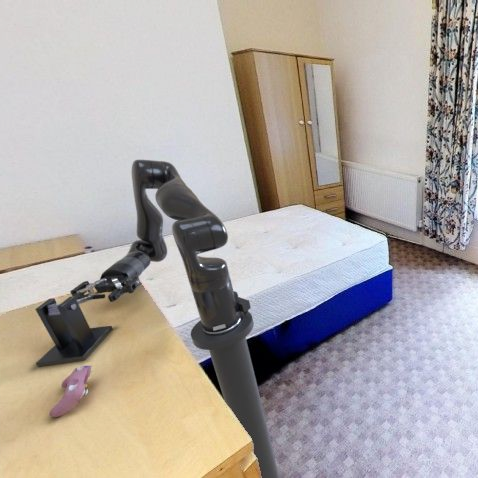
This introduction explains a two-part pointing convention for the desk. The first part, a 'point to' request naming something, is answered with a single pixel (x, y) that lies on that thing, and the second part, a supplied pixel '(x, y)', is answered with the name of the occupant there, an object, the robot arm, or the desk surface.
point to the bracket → (69, 333)
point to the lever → (81, 299)
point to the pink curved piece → (72, 391)
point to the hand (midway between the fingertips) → (91, 301)
